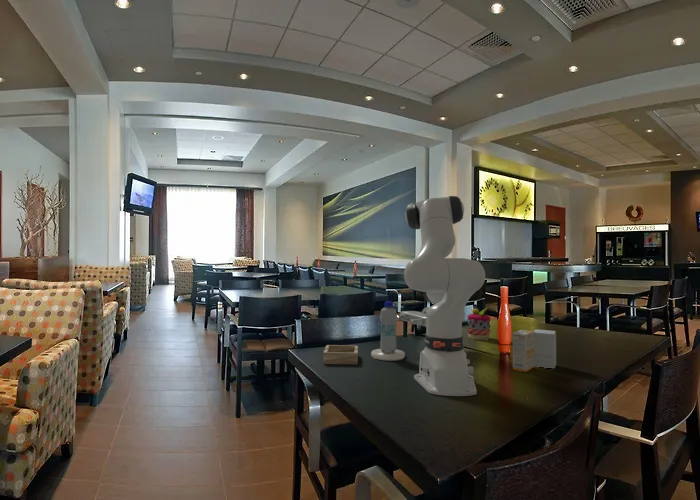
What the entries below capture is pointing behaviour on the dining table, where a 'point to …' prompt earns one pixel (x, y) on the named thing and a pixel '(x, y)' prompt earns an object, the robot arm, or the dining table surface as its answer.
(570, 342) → the dining table surface
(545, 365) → the supplement box
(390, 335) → the bottle
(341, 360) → the box
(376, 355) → the ceramic plate
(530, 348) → the supplement box
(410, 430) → the dining table surface
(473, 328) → the cake
